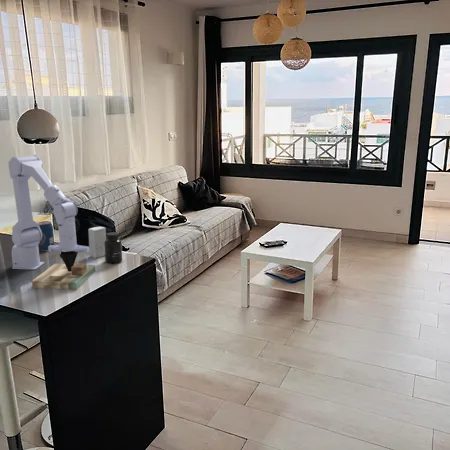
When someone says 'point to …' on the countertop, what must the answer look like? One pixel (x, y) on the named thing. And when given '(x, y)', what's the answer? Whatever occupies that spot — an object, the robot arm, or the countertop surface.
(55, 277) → the trap board
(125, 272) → the countertop surface
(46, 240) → the soda can
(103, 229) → the skincare box
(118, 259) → the supplement bottle
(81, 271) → the walnut block
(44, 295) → the countertop surface
